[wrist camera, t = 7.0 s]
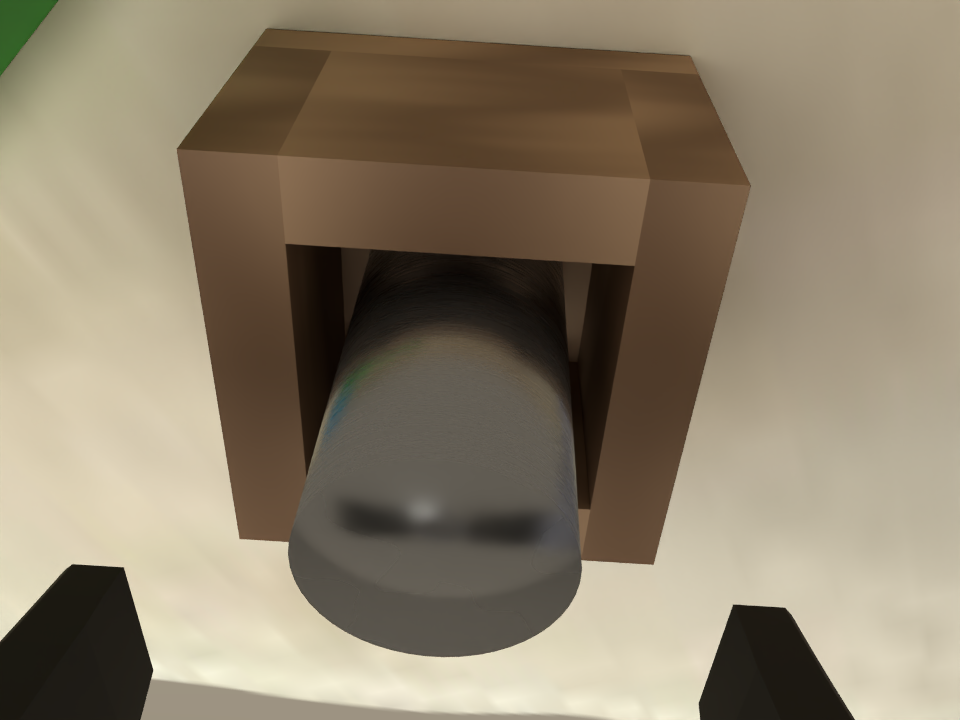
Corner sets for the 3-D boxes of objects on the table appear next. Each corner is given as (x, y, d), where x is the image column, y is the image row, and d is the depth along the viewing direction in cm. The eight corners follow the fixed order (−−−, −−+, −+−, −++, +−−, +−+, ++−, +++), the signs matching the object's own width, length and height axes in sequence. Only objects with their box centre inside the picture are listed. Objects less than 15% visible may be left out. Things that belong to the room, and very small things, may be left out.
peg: (564, 177, 17) (587, 461, 11) (560, 345, 20) (577, 658, 13) (360, 180, 18) (263, 460, 11) (380, 346, 20) (311, 655, 13)
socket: (690, 55, 17) (750, 186, 12) (626, 386, 22) (653, 564, 17) (266, 28, 17) (176, 149, 12) (296, 365, 22) (239, 538, 17)
